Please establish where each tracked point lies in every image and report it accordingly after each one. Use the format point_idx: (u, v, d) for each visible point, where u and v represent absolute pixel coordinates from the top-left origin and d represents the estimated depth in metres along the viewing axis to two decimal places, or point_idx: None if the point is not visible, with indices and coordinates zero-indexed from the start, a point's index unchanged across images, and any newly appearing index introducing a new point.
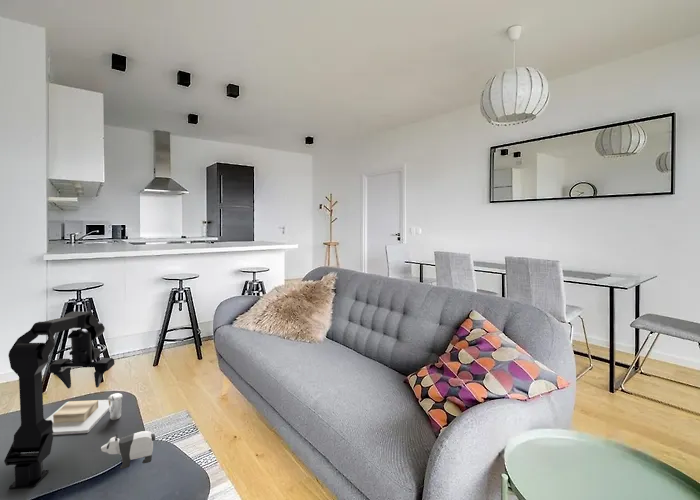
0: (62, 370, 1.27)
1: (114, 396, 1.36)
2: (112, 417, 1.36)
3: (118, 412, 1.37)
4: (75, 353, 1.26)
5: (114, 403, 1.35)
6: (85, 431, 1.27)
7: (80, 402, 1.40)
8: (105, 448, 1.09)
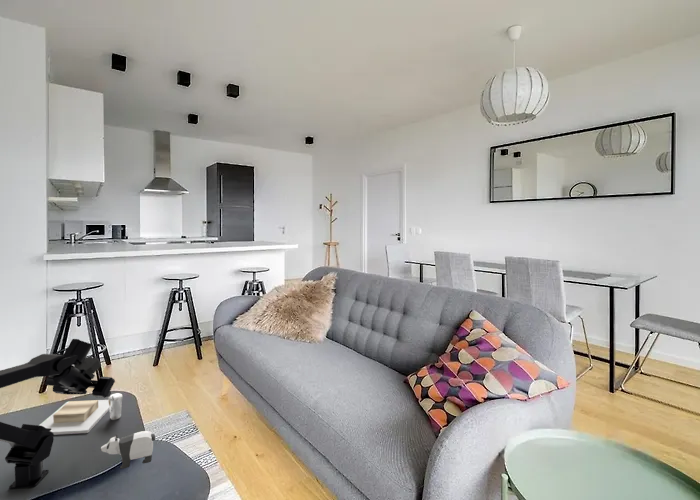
0: (66, 390, 1.22)
1: (114, 396, 1.36)
2: (112, 417, 1.36)
3: (118, 412, 1.37)
4: (66, 387, 1.16)
5: (114, 403, 1.35)
6: (85, 431, 1.27)
7: (80, 402, 1.40)
8: (105, 448, 1.09)
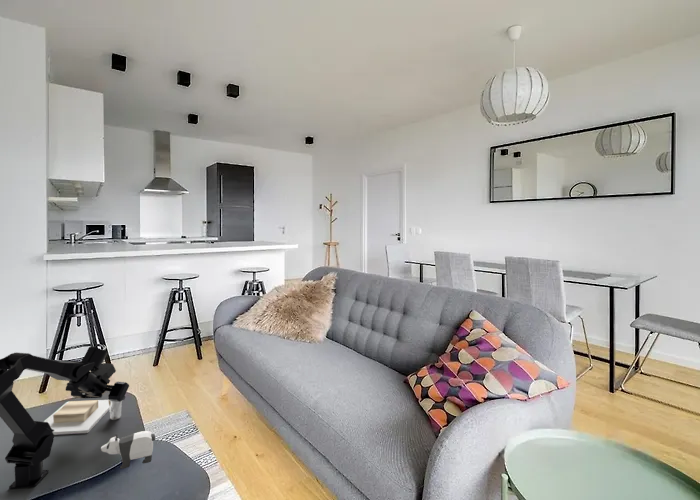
0: (84, 394, 1.29)
1: None
2: (112, 417, 1.36)
3: (118, 412, 1.37)
4: (84, 392, 1.23)
5: (114, 403, 1.35)
6: (85, 431, 1.27)
7: (80, 402, 1.40)
8: (105, 448, 1.09)
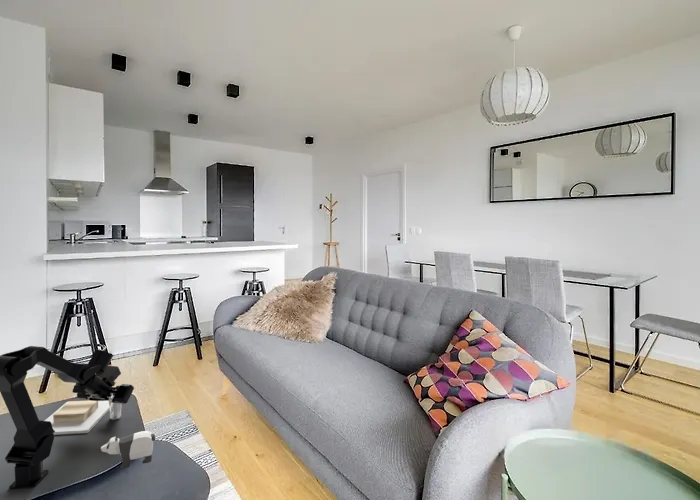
0: None
1: None
2: (112, 417, 1.36)
3: (118, 412, 1.37)
4: (90, 394, 1.26)
5: (114, 403, 1.35)
6: (85, 431, 1.27)
7: (80, 402, 1.40)
8: (105, 448, 1.09)
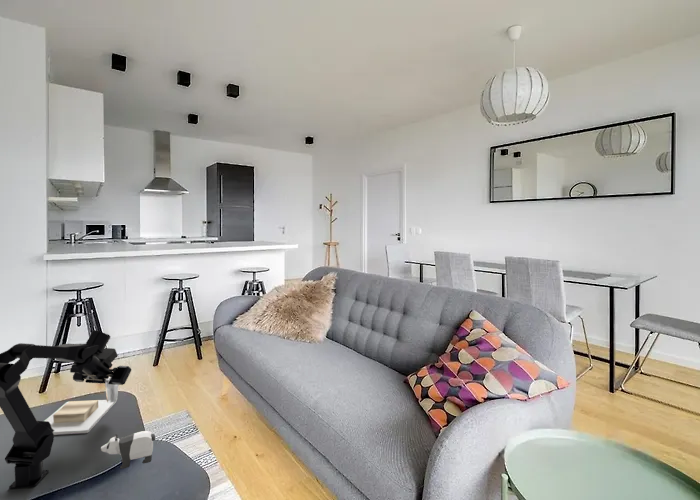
0: None
1: None
2: (109, 400, 1.36)
3: (115, 395, 1.36)
4: (87, 375, 1.25)
5: (111, 385, 1.35)
6: (85, 431, 1.27)
7: (80, 402, 1.40)
8: (105, 448, 1.09)
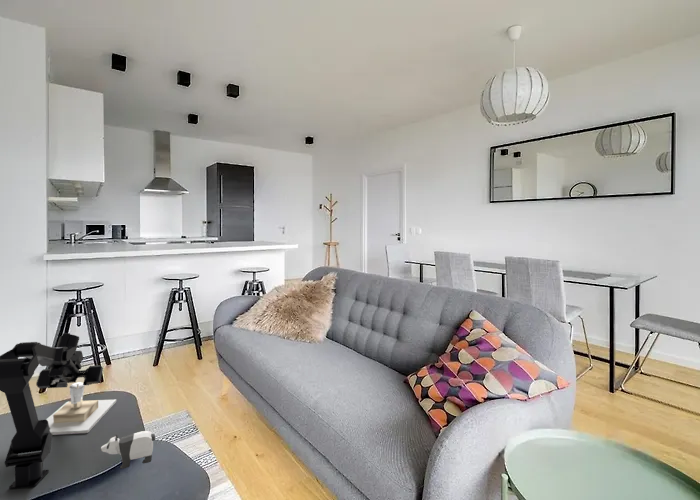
0: (55, 383, 1.29)
1: None
2: (75, 406, 1.35)
3: (81, 400, 1.37)
4: (61, 378, 1.25)
5: (78, 391, 1.35)
6: (85, 431, 1.27)
7: None
8: (105, 448, 1.09)
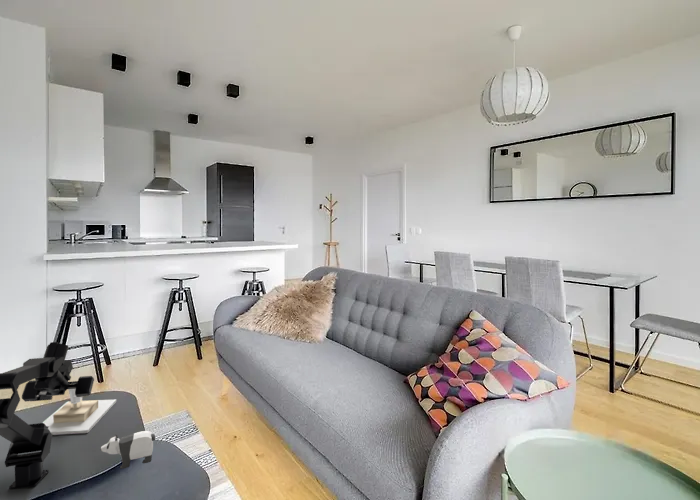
0: (38, 396, 1.20)
1: None
2: (75, 406, 1.35)
3: (81, 400, 1.37)
4: (48, 390, 1.16)
5: None
6: (85, 431, 1.27)
7: None
8: (105, 448, 1.09)
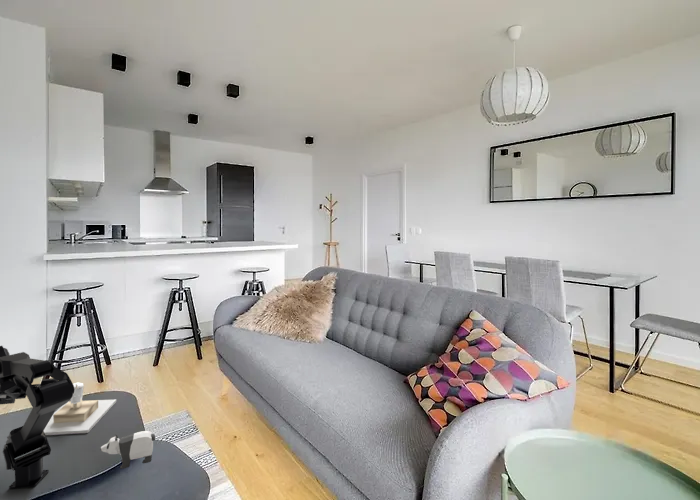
0: None
1: (76, 385, 1.35)
2: (75, 406, 1.35)
3: (81, 400, 1.37)
4: (7, 394, 1.10)
5: (77, 391, 1.35)
6: (85, 431, 1.27)
7: None
8: (105, 448, 1.09)
